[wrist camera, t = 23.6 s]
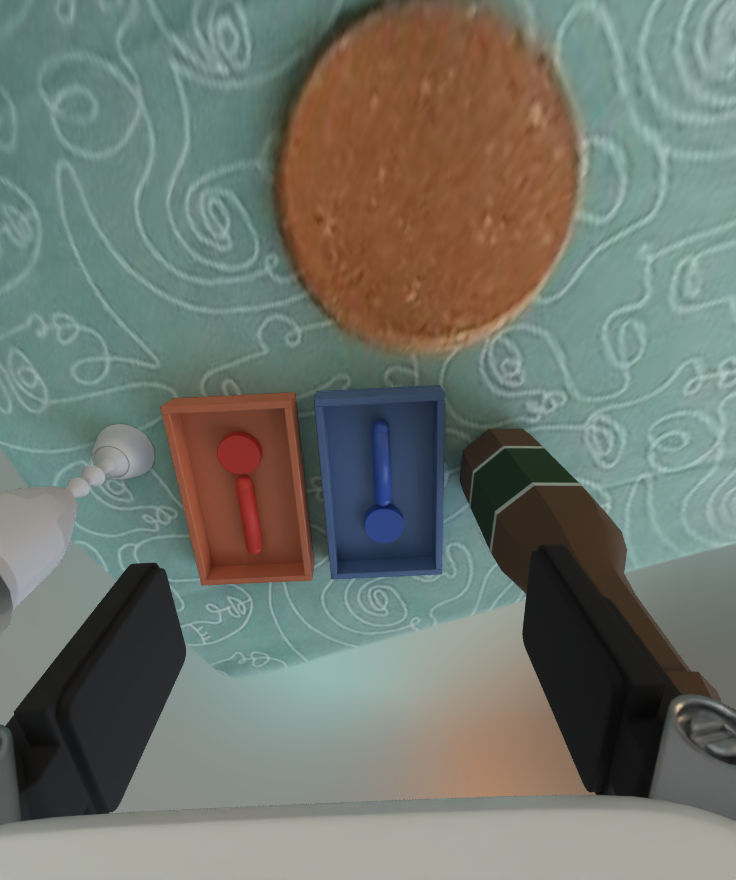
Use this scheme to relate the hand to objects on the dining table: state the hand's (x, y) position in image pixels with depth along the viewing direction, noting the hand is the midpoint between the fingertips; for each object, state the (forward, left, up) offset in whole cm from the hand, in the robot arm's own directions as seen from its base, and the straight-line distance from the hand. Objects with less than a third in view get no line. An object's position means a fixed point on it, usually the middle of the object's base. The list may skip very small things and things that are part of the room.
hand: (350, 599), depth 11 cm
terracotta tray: (+10, -11, -26) cm, 30 cm away
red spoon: (+10, -11, -26) cm, 30 cm away
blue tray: (+10, +1, -26) cm, 28 cm away
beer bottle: (+9, +12, -26) cm, 30 cm away
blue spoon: (+10, +1, -26) cm, 28 cm away
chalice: (+6, -21, -26) cm, 34 cm away
